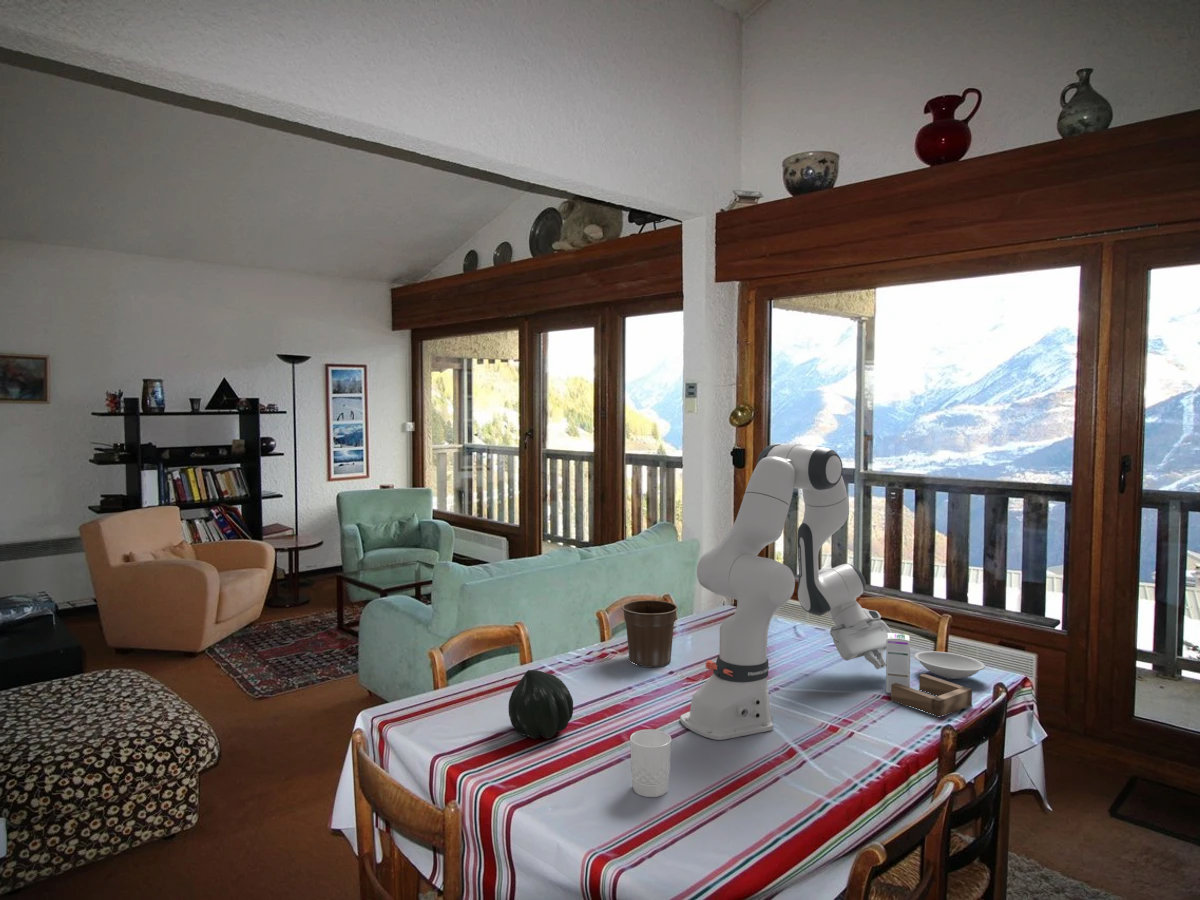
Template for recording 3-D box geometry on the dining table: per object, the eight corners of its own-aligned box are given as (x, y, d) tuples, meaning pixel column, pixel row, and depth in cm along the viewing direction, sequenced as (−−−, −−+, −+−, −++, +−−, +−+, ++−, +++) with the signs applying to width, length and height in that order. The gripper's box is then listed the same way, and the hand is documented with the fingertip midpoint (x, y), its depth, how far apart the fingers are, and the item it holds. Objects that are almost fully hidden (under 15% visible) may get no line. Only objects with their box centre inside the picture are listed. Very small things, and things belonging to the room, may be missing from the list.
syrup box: (909, 696, 191) (911, 640, 190) (885, 693, 193) (886, 637, 192) (909, 688, 196) (910, 634, 195) (885, 685, 198) (886, 631, 198)
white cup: (668, 778, 147) (668, 729, 147) (673, 799, 140) (673, 746, 139) (628, 779, 147) (628, 729, 147) (631, 799, 139) (631, 747, 139)
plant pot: (612, 656, 221) (612, 602, 220) (659, 649, 228) (660, 597, 227) (637, 673, 207) (638, 616, 206) (687, 665, 213) (688, 610, 213)
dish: (907, 678, 204) (907, 660, 204) (922, 664, 215) (922, 647, 215) (977, 693, 193) (978, 674, 193) (989, 678, 204) (990, 660, 204)
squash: (595, 705, 170) (558, 650, 174) (559, 732, 157) (519, 672, 161) (557, 735, 176) (522, 681, 180) (519, 763, 163) (482, 704, 167)
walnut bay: (938, 717, 177) (939, 701, 177) (890, 700, 188) (891, 684, 188) (971, 705, 185) (972, 689, 185) (923, 688, 196) (924, 673, 196)
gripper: (834, 622, 198) (864, 668, 190) (882, 610, 209) (912, 654, 202) (820, 634, 202) (849, 680, 194) (868, 622, 213) (897, 666, 206)
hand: (882, 667), depth 198 cm, fingers closed
